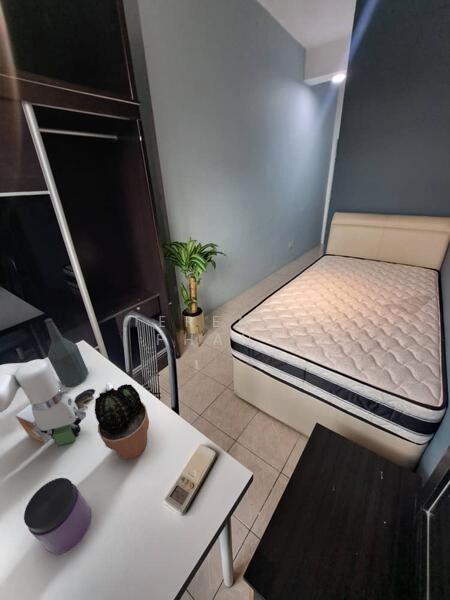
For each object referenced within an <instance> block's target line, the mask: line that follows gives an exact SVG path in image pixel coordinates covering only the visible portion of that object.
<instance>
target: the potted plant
mask: <svg viewBox="0 0 450 600" xmlns="http://www.w3.org/2000/svg"><path fill="white" fill-rule="evenodd" d="M98 395H99V396H98V397H96V398H95V400H94V401H95V402H94V414H95V418H96V421H97V422H98V424H97V433H98V435H99V437H100V439H101V440H102V442H103V443H104V445H105V447H107V448H108V449H110V450H111V451H114V452H115V453H116V454H117V455H118V456H119V457H120V458H122V459H123V460H133V459H136V458H137V457H139V456H140V455H142V453H144V451H145V450H146V447H147V446H148V441H149V440H148V430H149V426H150V418H149V415H148V411H147V406H146V405H145V404H144V402H142V400H141V396H140V393H139V392H138V391H137V389H136V388H135V387H134V386H133V385H132V384H131V383H129V384H128V383H125V384H121V385H120V386H119V387H117V389H115V388H114V387H113V388H112V389H110V390H108V389H107V390H105V391H104V392H99V394H98Z"/></svg>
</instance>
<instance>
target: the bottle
mask: <svg viewBox="0 0 450 600" xmlns="http://www.w3.org/2000/svg"><path fill="white" fill-rule="evenodd" d="M44 323H45V325H46V328H47V331H48V335H49V337H50V340H51V343H50V346H49V349H48V353H47V358H48V360H49V363H50V364H51V366H52V368H53V370H54V372H55V374H56V376H57V378H58V380H59V381H60V383H61V385H63V386H65V387H67V388H69V387H70V388H71V387H76V386H78V385H80V384H82V383H83V382H84V381H86V379H87V378H88V375H89V369H88V368H87V365H86V363H85V360H84V358H83V356H82V353H81V351H80V349H79V346H78V344H77V343H74V342H73V341H71V340H68V339H67V338H65V337H63V335H62V334H61V332H60V330H59V328H58V327H57V325H56V324H55V323H54V321H53V318H50V317H49V318H46V319H45V320H44Z"/></svg>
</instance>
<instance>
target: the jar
mask: <svg viewBox="0 0 450 600" xmlns="http://www.w3.org/2000/svg"><path fill="white" fill-rule="evenodd" d="M72 484H73V485H74V487H75V488H76V492H77V496H76V501H75V504H74V507H73V509H72V510H71V512H70V513H69V515H68V516H67V517H66V519H65V520H64V521H63V522H62V523H61V524H59V525H58V526H57V527H55V528H54V529H52V530H50V531H48V532H45V533H35V532H33V531H32V530H31V529H30V528H29V527H28V526H27V528H28V531H29V532H30V534H32V536H34V537H35V539H36V540H37V541H38V542H39V543H40V544H41V545H43V547H45V549H47V550H48V551H49V552H50V553H51V554H54V555H60V554H63V553H67V552H68V551H70V550H72V548H75V546H77V545H78V544H79V542H81V541H82V539H83V537H84V536H85V535H86V534H87V532H88V530H89V527H90V525H91V521H92V509H91V507H90V505H89V503H88V502H87V500H86V499H85V497H84V495H83V494H82V493H81V491H80V490H79V488H78V487H77V485H76V484H74V483H73V482H72Z"/></svg>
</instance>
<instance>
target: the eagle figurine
mask: <svg viewBox="0 0 450 600" xmlns="http://www.w3.org/2000/svg"><path fill="white" fill-rule="evenodd" d="M95 394H96V389H94V388H89V389H85V390H83V391H82V392H80V393H78V395H76V396H75V398H74V400H73V401H74V402H75V404H76V405H77V407H78V408H86V409H89V406H88V405H87V404H85V403H84V402H86V401H88V400H92V399H94V395H95Z"/></svg>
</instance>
